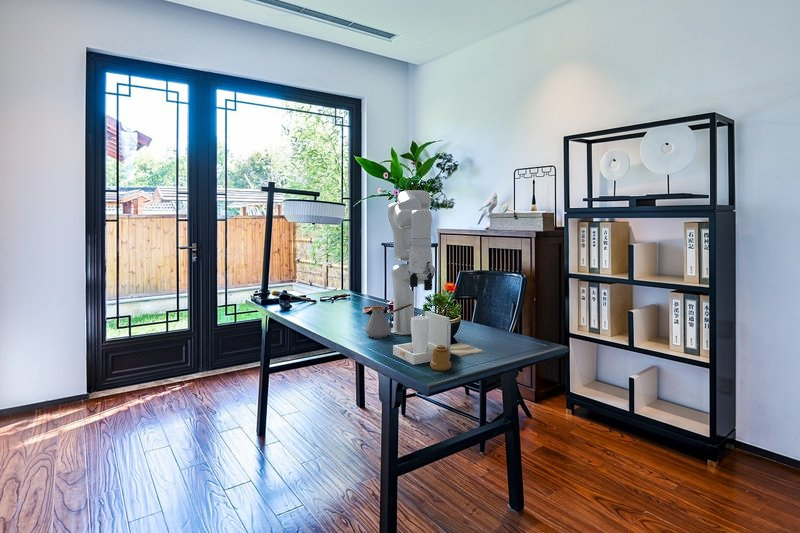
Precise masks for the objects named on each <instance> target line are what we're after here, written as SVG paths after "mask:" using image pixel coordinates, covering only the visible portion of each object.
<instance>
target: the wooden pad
mask: <svg viewBox="0 0 800 533" xmlns="http://www.w3.org/2000/svg"><path fill="white" fill-rule="evenodd" d="M482 353H485V350H483V349H480V348H478V347H474V346H471V345H469V344H466V343H463V342H459V343H453V344H450V354H452V355H455V356H457V357H459V358H460V357H466V356H472V355H478V354H482Z"/></svg>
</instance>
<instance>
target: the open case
mask: <svg viewBox="0 0 800 533" xmlns="http://www.w3.org/2000/svg"><path fill="white" fill-rule="evenodd" d="M424 316H425V317H428V318H429V333H428V343H427V352H424V353H418V354H413V346H412V342H407V343H402V344H401V343H400V344H394V345H392V355H394V356H395V357H397V358H400V359H401V360H404V361H405V362H408V363H409V364H411V365H414V366H415V365H419V364H423V363H425V364H426V363H429V362H430V363H431V361H432V357H433V349H434V348H435V347H437V346H438V345H444V346H445V347H446V348H447V349H448V350H449V360H451V353H450V345H451V335H452V334H451V333H452V332H451V329H452V328H451V325H452V322H451V321H450V317H448V316H444V315H441V314H438V313H435V312H433V311H432V312H431V311H427V310H426V311H424Z"/></svg>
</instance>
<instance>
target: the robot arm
mask: <svg viewBox="0 0 800 533" xmlns="http://www.w3.org/2000/svg"><path fill="white" fill-rule="evenodd" d="M431 198H432V197H431V195H430V193H429V192H428V191H426V190H421V189H420V190H415V189H414V190H411V189H409V190H403V191H401V192H399V194H398V195H397V201H396V202H392V203H390V204H389V205H388V206H387V216H388V217H387V218H388V221H389V224H390V227H391V230H392V234H393V236H392V237H393V254H394V259H395V260H396V261H397V262H408V263H400V264H396V265H394V266H393V267H392V269H391V280H392V288H393V290H392V291H393V311H394V310H395V309H398V308H400V307H403V306H406V305H409V304H412V306H413V308H412V306H408V307H406V308H404V309H402V310H399V311H396V312H393V321H391V324H392V327H390V328H391V332H390V333H392V334H394V335H403V336H405V335H407V336H408V335H412V334H411V318H412V317H415V293H414V292H413V290H412V289H411V288H418V286H419V285H423V291H432V290H433V280H434V276H435V272H436V267H435V266H434V265H433V251H432V250H433V249H432V224H433V215H432V211H430V208H431V205H432V199H431Z"/></svg>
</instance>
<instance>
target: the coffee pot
mask: <svg viewBox="0 0 800 533" xmlns="http://www.w3.org/2000/svg"><path fill="white" fill-rule="evenodd" d="M408 306H412V304H409V305H406V306H403V307H400V308H398V309H395V310H394V309H393V310H391V311H388V312H386V313H385V310H386V307H385V306H372V307H370V309H371V311H372V313H371V315H370V318H369V320H368V323H367V325H366V326H365V330H364V331H365V333H366V334H367V335H368V336H369V337H370V338H372V337H375V338H374V339H383V338H382V337H384V338H386V337H387V336H388V335H389V334H390V333H391V328H392V327H391V325H390V324H389V321H388V319H387V317H386V316H387V315H390V314H394V312H396V311H399V310H402V309H404V308H406V307H408ZM412 308H413V306H412ZM380 337H381V338H380Z"/></svg>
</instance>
